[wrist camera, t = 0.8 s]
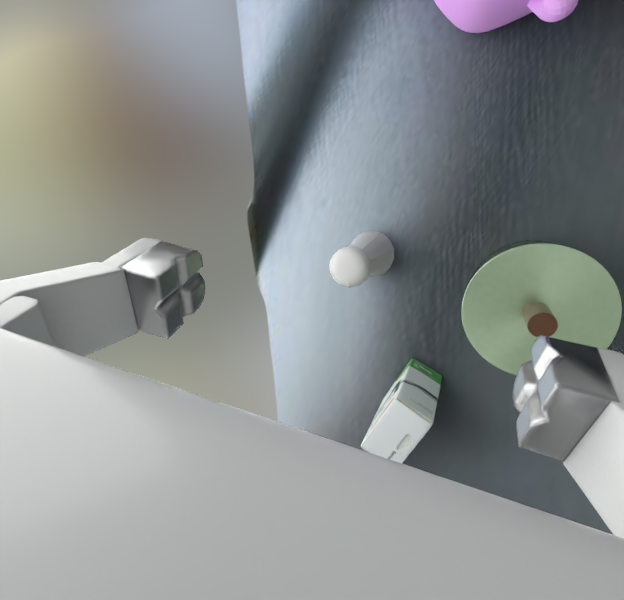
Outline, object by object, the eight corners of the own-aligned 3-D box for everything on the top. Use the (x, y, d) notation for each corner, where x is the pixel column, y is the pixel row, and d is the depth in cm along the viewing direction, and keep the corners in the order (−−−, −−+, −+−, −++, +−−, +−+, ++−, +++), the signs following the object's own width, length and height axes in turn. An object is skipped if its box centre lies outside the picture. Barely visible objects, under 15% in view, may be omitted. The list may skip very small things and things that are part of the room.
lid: (652, 328, 36) (678, 348, 32) (514, 395, 42) (519, 420, 38) (557, 212, 37) (569, 214, 32) (435, 294, 43) (430, 307, 38)
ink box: (411, 355, 53) (396, 396, 42) (444, 376, 52) (436, 423, 41) (380, 401, 56) (357, 449, 46) (409, 421, 55) (394, 475, 45)
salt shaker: (346, 255, 53) (309, 271, 41) (371, 220, 50) (340, 227, 39) (379, 282, 52) (352, 307, 40) (407, 248, 50) (386, 264, 38)
